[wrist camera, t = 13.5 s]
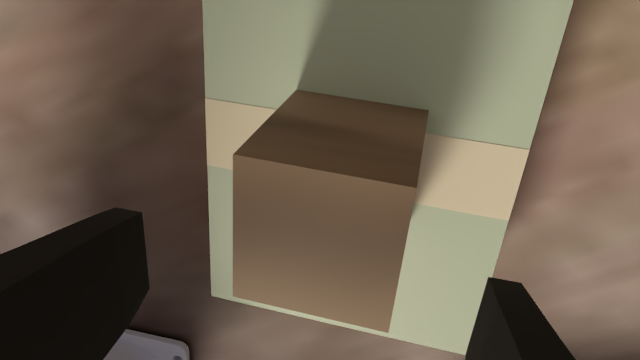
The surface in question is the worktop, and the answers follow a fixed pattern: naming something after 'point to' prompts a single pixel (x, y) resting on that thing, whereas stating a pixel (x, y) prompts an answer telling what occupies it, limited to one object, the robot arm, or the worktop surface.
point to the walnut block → (326, 206)
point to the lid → (403, 90)
